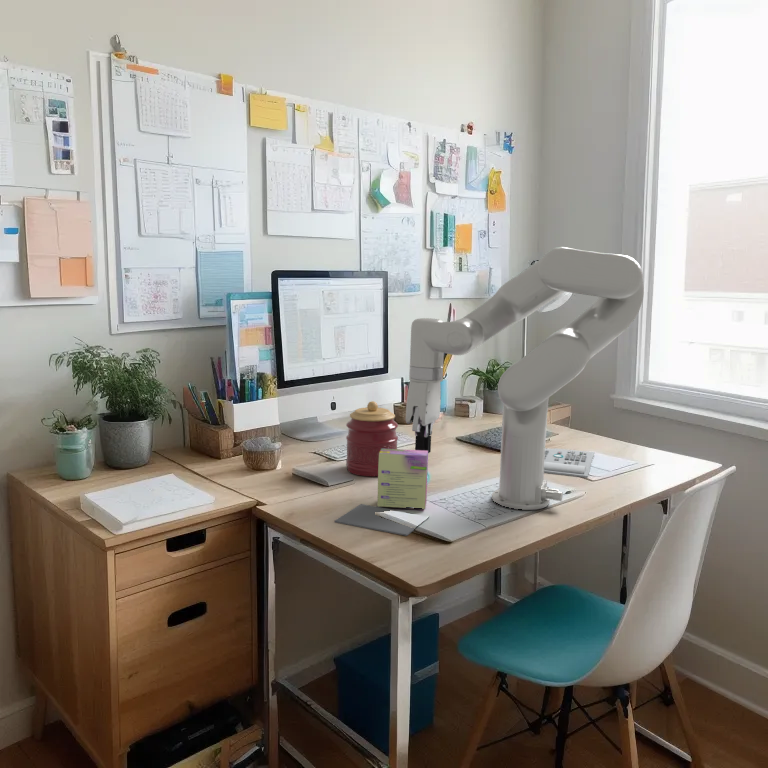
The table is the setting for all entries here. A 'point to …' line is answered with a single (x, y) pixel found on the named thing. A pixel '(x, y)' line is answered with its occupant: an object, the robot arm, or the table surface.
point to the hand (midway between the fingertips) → (422, 452)
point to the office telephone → (568, 462)
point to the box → (402, 478)
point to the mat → (372, 520)
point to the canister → (369, 438)
